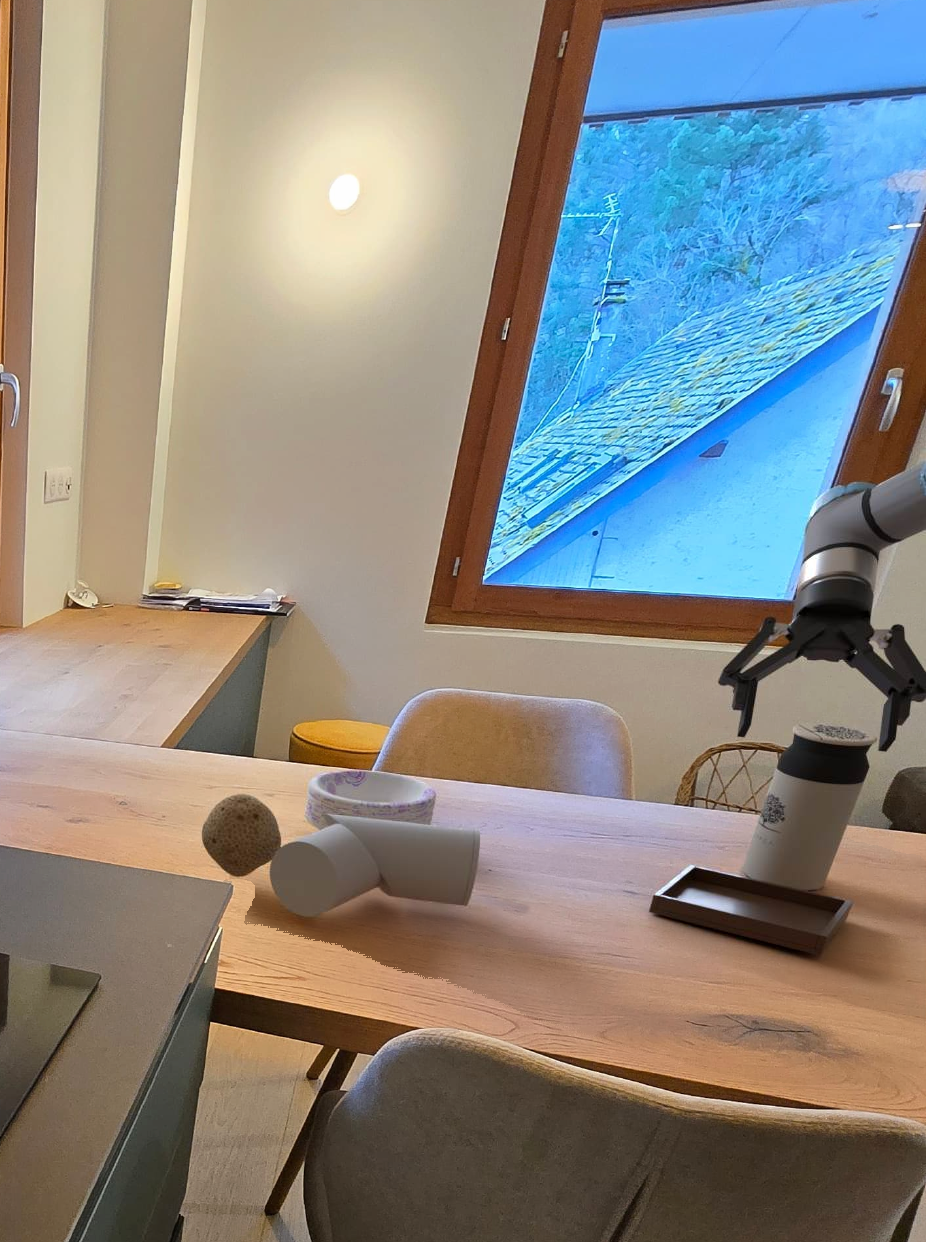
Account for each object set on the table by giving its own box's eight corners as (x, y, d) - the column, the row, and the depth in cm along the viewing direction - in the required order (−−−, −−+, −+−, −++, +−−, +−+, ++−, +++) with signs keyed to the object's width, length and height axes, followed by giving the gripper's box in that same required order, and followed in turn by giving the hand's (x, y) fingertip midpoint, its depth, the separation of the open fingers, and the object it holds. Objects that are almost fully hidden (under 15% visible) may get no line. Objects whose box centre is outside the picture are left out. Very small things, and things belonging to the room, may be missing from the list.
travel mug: (811, 871, 126) (866, 725, 118) (832, 897, 119) (892, 745, 111) (733, 862, 129) (781, 719, 121) (750, 887, 122) (802, 738, 114)
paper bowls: (337, 814, 145) (346, 759, 142) (446, 843, 135) (458, 784, 131) (278, 843, 136) (286, 785, 132) (390, 876, 126) (401, 814, 122)
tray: (846, 918, 113) (853, 901, 113) (820, 955, 104) (827, 936, 104) (685, 881, 124) (690, 864, 123) (648, 912, 115) (653, 894, 114)
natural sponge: (180, 868, 126) (187, 791, 122) (234, 853, 131) (242, 777, 126) (234, 895, 119) (244, 813, 115) (289, 878, 123) (300, 799, 119)
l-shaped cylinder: (350, 841, 129) (250, 885, 117) (381, 766, 122) (279, 804, 111) (482, 916, 118) (386, 972, 107) (523, 838, 112) (426, 888, 101)
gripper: (951, 622, 127) (936, 769, 121) (706, 608, 139) (681, 742, 133) (980, 580, 121) (966, 732, 115) (721, 570, 133) (696, 707, 126)
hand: (813, 738), depth 124 cm, fingers open, 13 cm apart
